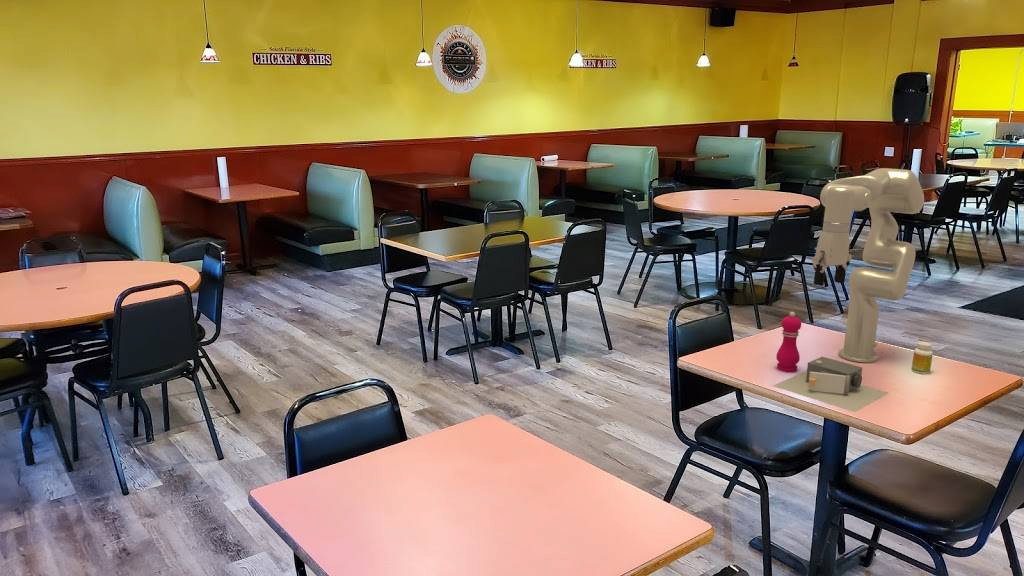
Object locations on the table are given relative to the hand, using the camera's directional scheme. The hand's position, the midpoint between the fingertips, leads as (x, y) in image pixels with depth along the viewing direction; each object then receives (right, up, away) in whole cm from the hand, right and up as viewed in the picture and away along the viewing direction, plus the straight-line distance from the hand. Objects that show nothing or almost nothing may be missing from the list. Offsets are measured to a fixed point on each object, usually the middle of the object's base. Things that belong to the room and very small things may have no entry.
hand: (828, 283), depth 232 cm
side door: (-1, -33, -2) cm, 33 cm away
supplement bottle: (+38, -29, +18) cm, 51 cm away
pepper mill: (-6, -29, +18) cm, 35 cm away
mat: (+1, -33, +1) cm, 33 cm away
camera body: (+3, -31, +5) cm, 32 cm away
